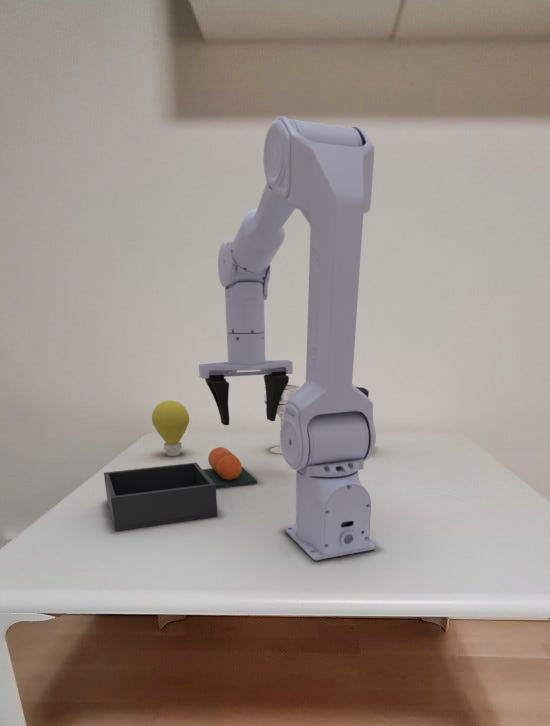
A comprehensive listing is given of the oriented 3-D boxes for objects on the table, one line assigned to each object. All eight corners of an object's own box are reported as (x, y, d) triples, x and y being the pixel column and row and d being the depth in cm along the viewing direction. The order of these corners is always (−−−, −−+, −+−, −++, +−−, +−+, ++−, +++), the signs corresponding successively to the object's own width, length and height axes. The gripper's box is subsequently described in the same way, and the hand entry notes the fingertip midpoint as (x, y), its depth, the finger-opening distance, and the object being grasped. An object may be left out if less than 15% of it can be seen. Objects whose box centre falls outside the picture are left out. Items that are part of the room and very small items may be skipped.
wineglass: (294, 456, 101) (294, 390, 97) (260, 453, 103) (258, 389, 98) (304, 446, 107) (304, 385, 103) (271, 444, 109) (270, 383, 104)
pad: (257, 483, 86) (257, 480, 86) (194, 491, 82) (194, 488, 82) (240, 467, 94) (240, 465, 94) (182, 474, 90) (182, 471, 90)
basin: (217, 516, 73) (215, 484, 72) (115, 531, 68) (110, 497, 67) (198, 490, 83) (196, 462, 81) (107, 502, 78) (103, 472, 76)
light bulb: (164, 448, 105) (160, 397, 102) (197, 450, 104) (193, 398, 101) (148, 458, 99) (143, 403, 96) (183, 460, 98) (179, 404, 94)
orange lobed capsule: (237, 487, 85) (249, 465, 85) (215, 476, 83) (228, 454, 83) (221, 471, 93) (233, 451, 92) (201, 461, 91) (212, 440, 90)
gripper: (280, 330, 88) (281, 413, 93) (192, 332, 82) (197, 420, 87) (298, 332, 82) (297, 421, 87) (203, 335, 76) (208, 429, 81)
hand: (248, 422), depth 87 cm, fingers open, 7 cm apart
